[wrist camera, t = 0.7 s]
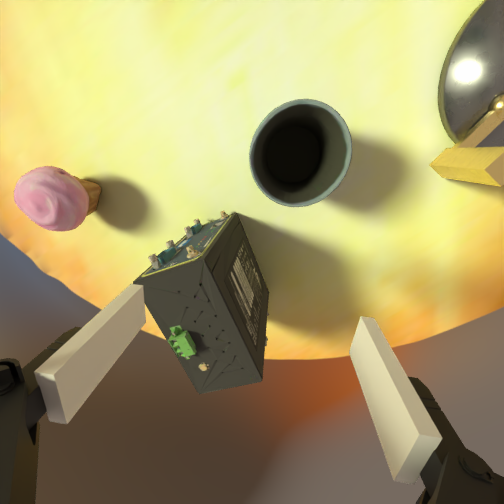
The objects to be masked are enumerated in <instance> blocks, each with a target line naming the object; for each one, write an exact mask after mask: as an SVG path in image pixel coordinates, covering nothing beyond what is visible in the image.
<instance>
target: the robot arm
mask: <svg viewBox="0 0 504 504" xmlns="http://www.w3.org/2000/svg"><path fill="white" fill-rule="evenodd" d="M145 323H146V317H145V304H144V291H143V285H136V284H130V285H129V286H128V287H127V288H126V289H125V290H124V291H122V292H121V293H120V294H119V295H118V296H117V297H116V298H115V299H114V300H113V301H111V302H110V303H109V304H108V305H107V306H106V307H105V308H104V309H103V310H102V311H101V312H99V313H98V314H97V315H96V316H95V317H94V318H93V319H92V320H91V321H89V322H88V323H87V324H86V325H85V326H84V327H83V328H80V327H75V328H73V329H71V330H69V331H68V332H66V333H64V334H62V335H61V336H60V337H59V338H58V339H57V340H55V342H54V343H52V344H51V345H50V346H48V347H47V349H45V350H44V351H43V352H41V353H40V354H39V355H38V356H37V357H35V358H34V359H33V360H32V361H31V362H30V363H28V364H27V365H26V366H25V367H24V368H23V369H21V366H20V363H19V361H18V360H16V359H10V358H6V359H1V360H0V504H35V500H36V483H37V468H38V452H39V435H40V423H39V419H40V418H41V417H42V416H43V414H45V413H46V412H47V415H48V418H49V421H51V422H57V423H63V424H68V423H69V421H70V420H71V419H72V417H73V416H74V415H75V413H76V412H77V411H78V410H79V408H80V407H81V406H82V404H83V403H84V402H85V400H86V399H87V398H88V396H89V395H90V394H91V393H92V391H93V390H94V389H95V387H96V386H97V385H98V384H99V382H100V381H101V380H102V378H103V377H104V376H105V374H106V373H107V372H108V371H109V369H110V368H111V367H112V365H113V364H114V363H115V362H116V360H117V359H118V358H119V356H120V355H121V354H122V352H123V351H124V350H125V349H126V347H127V346H128V345H129V343H130V342H131V341H132V339H133V338H134V337H135V336H136V334H137V333H138V332H139V330H140V329H141V328H142V327H143V325H144V324H145ZM349 354H350V356H351V359H352V362H353V365H354V368H355V371H356V374H357V376H358V379H359V382H360V385H361V388H362V391H363V394H364V397H365V399H366V402H367V405H368V408H369V411H370V414H371V416H372V419H373V422H374V425H375V428H376V431H377V434H378V437H379V439H380V442H381V445H382V448H383V451H384V454H385V457H386V460H387V462H388V465H389V468H390V471H391V474H392V477H393V480H394V481H398V482H404V483H409V484H415V483H416V481H417V479H418V478H419V476H421V478H422V480H423V483H424V485H425V487H426V488H425V489H424V491H423V492H422V494H421V496H420V497H419V499H418V500H417V502H416V504H504V477H502V476H500V475H498V474H496V473H494V472H493V471H492V469H491V468H490V467H489V466H488V465H487V464H486V462H485V461H484V460H483V459H482V458H480V457H479V456H478V455H477V454H475V453H474V452H472V451H470V450H468V449H466V448H465V446H464V445H463V443H462V442H461V440H460V438H459V437H458V435H457V434H456V432H455V430H454V429H453V427H452V426H451V424H450V423H449V421H448V419H447V418H446V416H445V415H444V413H443V412H442V411H441V408H440V407H439V405H438V403H437V402H435V399H434V397H433V395H432V394H431V392H430V391H429V389H428V388H427V387H426V386H425V385H424V384H423V383H422V382H421V381H420V380H419V379H418V378H413V377H407V375H406V373H405V372H404V370H403V368H402V366H401V364H400V363H399V361H398V359H397V357H396V356H395V354H394V352H393V351H392V349H391V347H390V345H389V343H388V342H387V340H386V338H385V336H384V335H383V333H382V331H381V329H380V328H379V326H378V324H377V322H376V321H375V319H374V318H370V317H363V316H361V317H360V320H359V323H358V326H357V329H356V333H355V336H354V339H353V342H352V345H351V348H350V351H349Z"/></svg>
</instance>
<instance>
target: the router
mask: <svg viewBox="0 0 504 504" xmlns="http://www.w3.org/2000/svg"><path fill="white" fill-rule="evenodd" d="M221 215H222V217H221V218H220V219H218V220H215V221H212V222H209V223H206V224H204V225H201V223H200V220H199V219H196V220H194V223H195V225H194V226H192V227H191V228H190V227H189V226H188V227H185V228H184V229H185V232H186V235H185V236H184V237H183V238H182V239H181V240H180V241H178V242H177V243H176V244H174V242H173V240H170V241H168V242H166V245H167V248H169V249H167V250H164V251H162V252H161V253H160V254H159V255H158V256H156V255H155V254H153V255H151V256H149V257H148V258H149V260H150V262H151V263H152V265H151V266H150V267H149V268H148V269H147V270H146V271H145V272H144V273H142V274H141V275H140V276H139V277H138V278H137V279H136V280H135V281H133V284H136V285H143V291H144V303H145V304H146V306H147V308H148V310H149V311H150V313H151V315H152V316H153V318H154V320H155V321H156V323H157V325H158V326H159V328H160V330H161V331H162V333H163V335H164V336H165V338H166V340H167V341H168V343H169V344H170V346H171V348H172V350H173V351H174V353H175V355H176V356H177V358H178V360H179V361H180V363H181V365H182V366H183V368H184V370H185V372H186V373H187V375H188V377H189V378H190V380H191V382H192V383H193V385H194V387H195V389H196V390H197V392H198V393H199V394H202V393H207V392H212V391H216V390H222V389H227V388H232V387H237V386H242V385H247V384H252V383H257V382H261V381H262V378H263V365H264V351H265V346H267V341H268V339H267V336H266V324H267V316H268V315H269V314H268V312H267V311H268V297H269V292H268V289H267V287H266V284H265V282H264V279H263V277H262V274H261V272H260V269H259V267H258V264H257V262H256V259H255V257H254V254H253V252H252V249H251V247H250V244H249V242H248V239H247V237H246V234H245V232H244V229H243V227H242V224H241V222H240V219H239V217H238V215H237V213H234V214H231V215H227V214H226V213H225V212H224V211H222V212H221Z"/></svg>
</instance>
